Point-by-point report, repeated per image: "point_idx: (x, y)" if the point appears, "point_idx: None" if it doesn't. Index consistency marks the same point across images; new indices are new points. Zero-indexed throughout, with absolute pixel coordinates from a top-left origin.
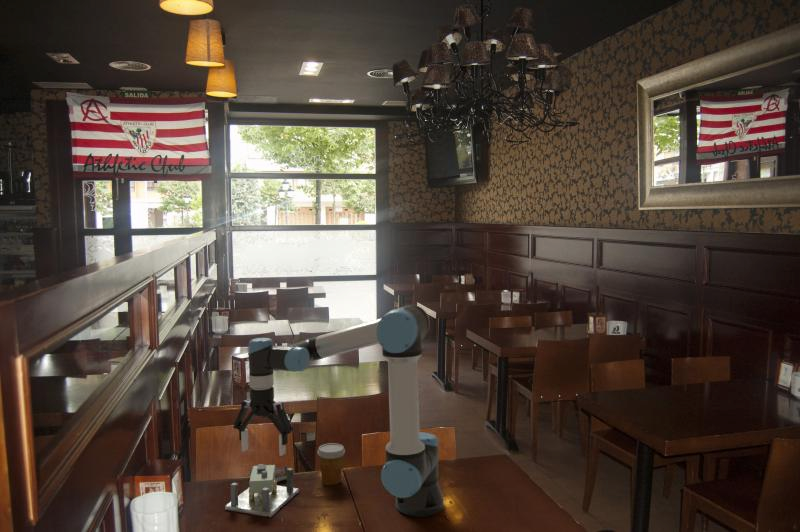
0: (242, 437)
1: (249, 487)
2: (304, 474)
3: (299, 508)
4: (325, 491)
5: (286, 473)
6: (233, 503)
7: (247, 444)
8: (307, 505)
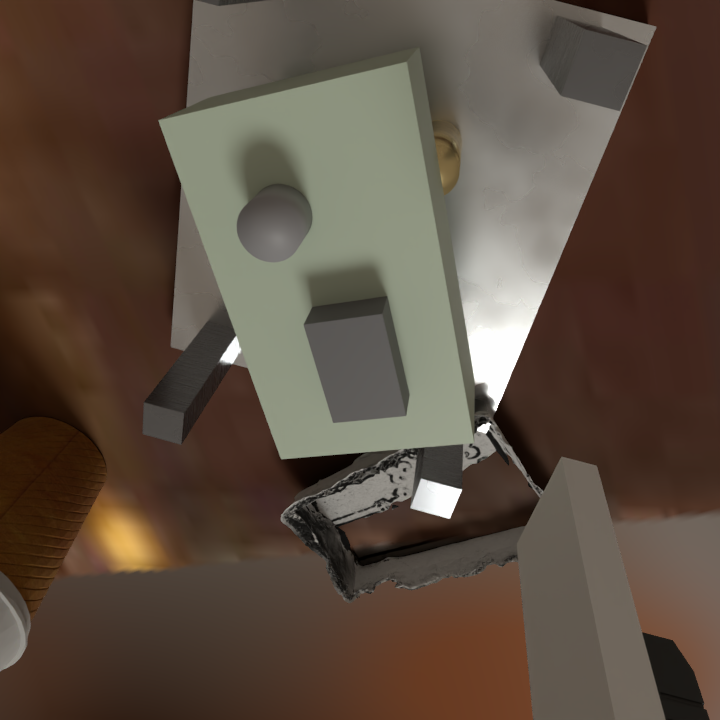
0: (626, 671)
1: (413, 53)
2: (237, 537)
3: (69, 97)
4: (28, 346)
5: (325, 533)
6: (578, 21)
7: (530, 590)
8: (39, 149)
